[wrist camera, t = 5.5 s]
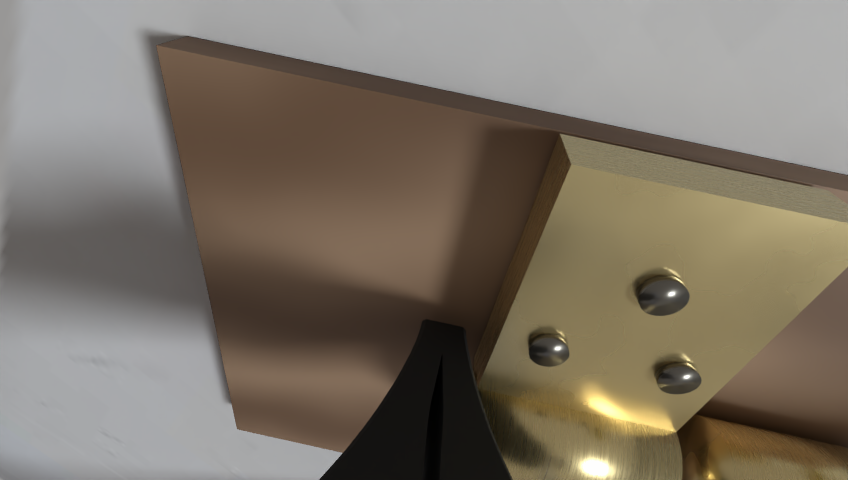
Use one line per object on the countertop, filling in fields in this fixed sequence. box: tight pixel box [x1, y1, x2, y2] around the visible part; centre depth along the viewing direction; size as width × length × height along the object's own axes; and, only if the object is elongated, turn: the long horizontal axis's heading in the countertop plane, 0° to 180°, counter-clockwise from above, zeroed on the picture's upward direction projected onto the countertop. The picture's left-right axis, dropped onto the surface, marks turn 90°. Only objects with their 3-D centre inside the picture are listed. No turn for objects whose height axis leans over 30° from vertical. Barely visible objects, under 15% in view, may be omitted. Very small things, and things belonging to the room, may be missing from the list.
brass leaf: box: [472, 134, 848, 480], centre depth 11 cm, size 11×6×3 cm, turn 171°
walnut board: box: [156, 36, 848, 453], centre depth 15 cm, size 17×24×1 cm
